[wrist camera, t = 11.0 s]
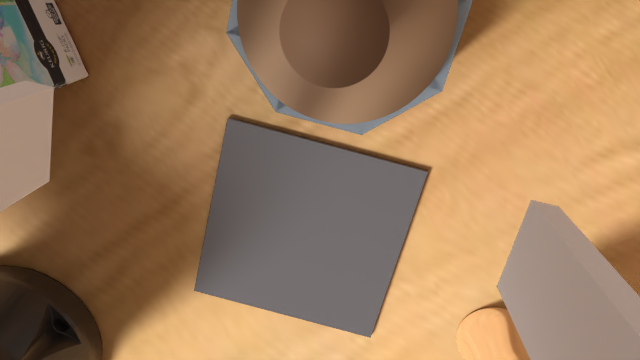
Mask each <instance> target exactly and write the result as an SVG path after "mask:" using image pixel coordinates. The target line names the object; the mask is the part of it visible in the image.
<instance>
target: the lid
mask: <svg viewBox="0 0 640 360" xmlns="http://www.w3.org/2000/svg"><path fill="white" fill-rule="evenodd" d="M457 16H458V0H237V21H238V29H239V35H240V39H241V43H242V46H243V49H244V52H245V54H246V57H247V59H248V61H249V63H250V65H251V67H252V69H253V71H254V72H255V74H256V75H257V77H258V78H259V79H260V81H261V82H262V84H263V85H264V86H265V87H266V88H267V89H268V90H269V91H270V92H271V93H272V94H273V95H274V96H275V97H276V98H277V99H278V100H280V101H281V102H282V103H283V104H285V105H287V106H288V107H290V108H291V109H293V110H294V111H296V112H298V113H301V114H303V115H305V116H307V117H310V118H313V119H316V120H319V121H324V122H329V123H338V124H354V123H363V122H368V121H373V120H376V119H379V118H382V117H385V116H387V115H389V114H392V113H394V112H396V111H398V110H399V109H401V108H403V107H404V106H406V105H407V104H409V103H410V102H411V101H413V100H414V99H415V98H416V97H418V96H419V95H420V94H421V93H422V92H423V91H424V90H425V89H426V88H427V87H428V86H429V85H430V83H431V82H432V81H433V79H434V78H435V77H436V75H437V74H438V72H439V71H440V69H441V67H442V65H443V64H444V62H445V60H446V58H447V56H448V53H449V51H450V48H451V46H452V42H453V38H454V35H455V31H456V24H457Z"/></svg>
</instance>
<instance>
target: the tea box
mask: <svg viewBox="0 0 640 360" xmlns="http://www.w3.org/2000/svg"><path fill="white" fill-rule="evenodd" d="M87 76H88V73H87V71H86V69H85V67H84V65H83V63H82V60H81V58H80V55H79V53H78V51H77V48H76V46H75V44H74V42H73V40H72V38H71V36H70V34H69V32H68V30H67V28H66V25H65V23H64V21H63V19H62V17H61V14H60V11H59V9H58V7H57V5H56V3H55V1H54V0H0V88H1V87H4V86H8V85H12V84H15V83H19V82H22V81H30V82H34V83H39V84H43V85H47V86H51V87H54V90H55V89H57V88H60V87H62V86H65V85H67V84H70V83H73V82H75V81H78V80H81V79H84V78H86V77H87Z"/></svg>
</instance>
